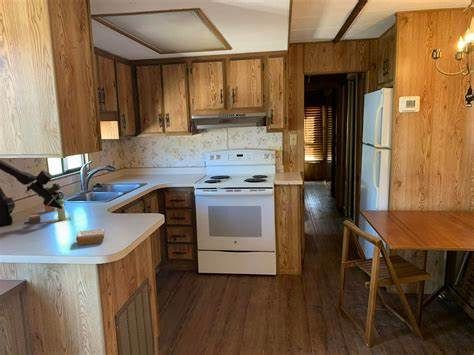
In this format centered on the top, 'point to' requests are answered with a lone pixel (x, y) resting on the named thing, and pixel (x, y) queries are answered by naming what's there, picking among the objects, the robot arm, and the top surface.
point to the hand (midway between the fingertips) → (63, 206)
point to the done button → (34, 216)
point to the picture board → (57, 220)
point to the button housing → (35, 219)
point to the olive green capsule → (61, 210)
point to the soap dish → (90, 236)
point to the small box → (49, 208)
